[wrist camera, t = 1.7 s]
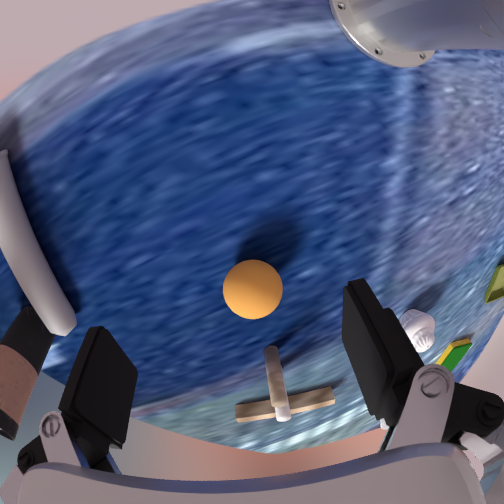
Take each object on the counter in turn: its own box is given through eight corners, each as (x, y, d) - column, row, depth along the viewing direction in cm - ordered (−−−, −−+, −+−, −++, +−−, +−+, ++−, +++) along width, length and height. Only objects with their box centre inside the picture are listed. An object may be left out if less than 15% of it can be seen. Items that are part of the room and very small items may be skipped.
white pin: (281, 364, 40) (290, 414, 32) (282, 370, 41) (291, 419, 33) (268, 366, 40) (275, 417, 32) (270, 373, 41) (277, 422, 33)
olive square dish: (501, 289, 40) (506, 295, 38) (479, 298, 39) (484, 305, 38) (515, 254, 35) (521, 260, 33) (494, 260, 35) (501, 267, 33)
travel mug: (61, 344, 36) (23, 447, 19) (27, 332, 34) (-15, 425, 17) (51, 311, 32) (-2, 425, 15) (15, 299, 31) (-41, 398, 13)
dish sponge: (468, 336, 46) (473, 343, 44) (439, 374, 53) (443, 381, 51) (449, 340, 45) (454, 348, 43) (420, 380, 52) (424, 387, 50)
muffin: (384, 329, 38) (402, 362, 32) (406, 298, 36) (428, 332, 30) (409, 331, 40) (427, 362, 34) (430, 304, 37) (451, 334, 31)
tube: (81, 337, 30) (-5, 152, 17) (52, 347, 28) (-36, 174, 15) (84, 312, 34) (14, 146, 21) (56, 322, 33) (-16, 164, 20)
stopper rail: (331, 386, 45) (335, 399, 43) (330, 390, 46) (334, 403, 44) (235, 405, 46) (235, 418, 43) (237, 409, 47) (238, 422, 45)
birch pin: (276, 344, 37) (286, 398, 30) (278, 352, 38) (288, 405, 31) (262, 347, 38) (270, 401, 30) (265, 355, 39) (272, 408, 31)
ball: (273, 243, 29) (282, 277, 24) (281, 287, 32) (290, 324, 27) (216, 255, 29) (215, 291, 24) (230, 298, 32) (232, 335, 27)
